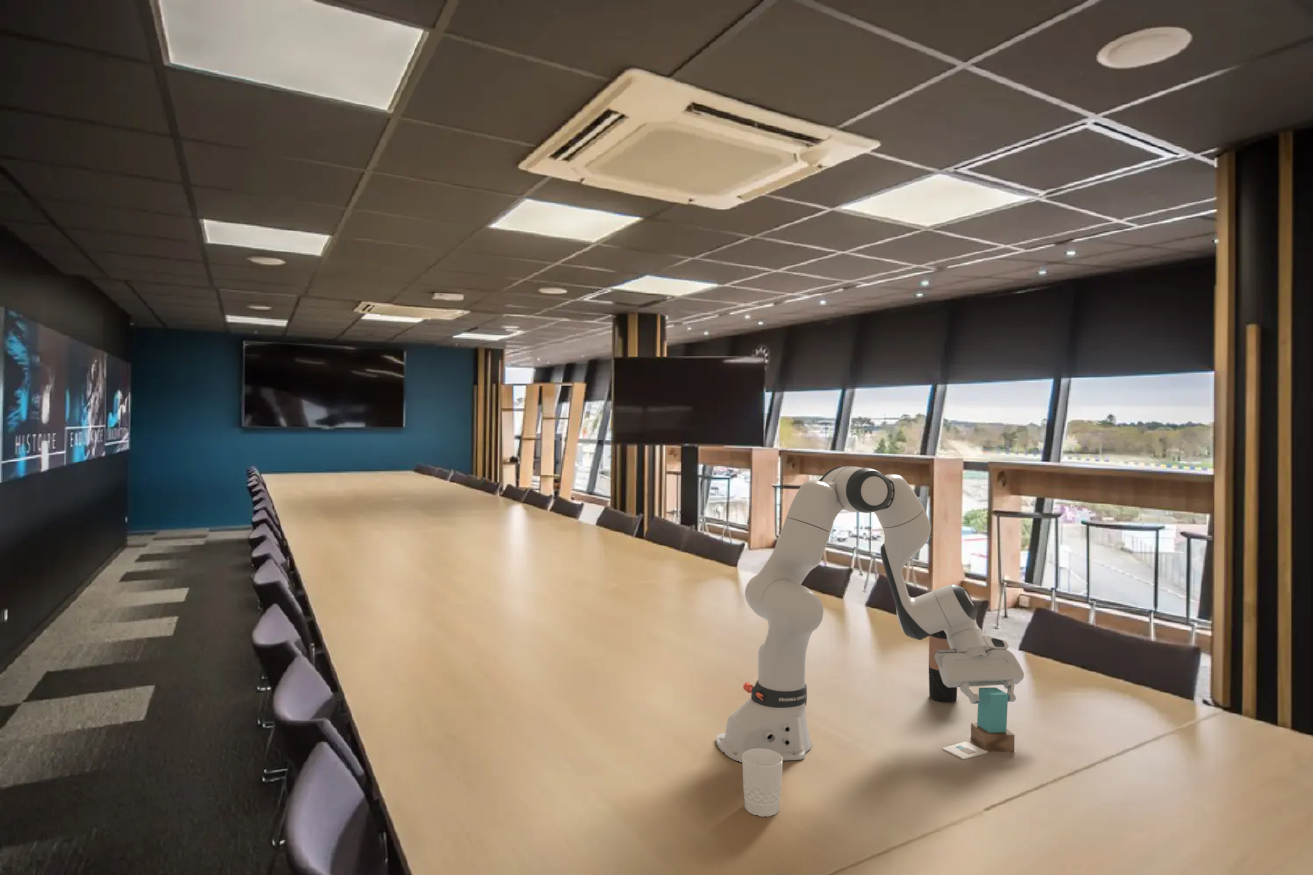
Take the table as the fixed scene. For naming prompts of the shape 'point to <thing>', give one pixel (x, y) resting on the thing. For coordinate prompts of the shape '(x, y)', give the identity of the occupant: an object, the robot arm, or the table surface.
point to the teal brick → (992, 710)
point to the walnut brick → (992, 739)
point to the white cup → (762, 781)
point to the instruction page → (965, 750)
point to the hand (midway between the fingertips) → (994, 701)
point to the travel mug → (935, 681)
